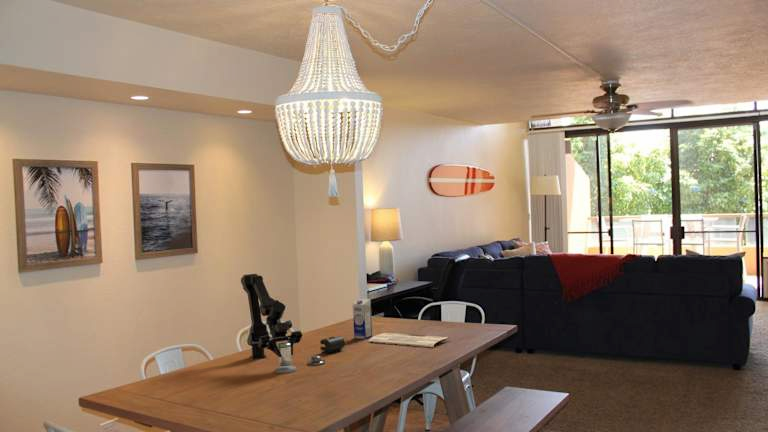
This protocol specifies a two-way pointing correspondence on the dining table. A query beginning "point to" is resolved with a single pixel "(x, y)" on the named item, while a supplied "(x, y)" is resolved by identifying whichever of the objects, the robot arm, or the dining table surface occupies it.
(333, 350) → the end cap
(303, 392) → the dining table surface
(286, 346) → the drinking glass
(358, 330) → the milk carton
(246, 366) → the dining table surface
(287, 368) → the coaster
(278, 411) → the dining table surface
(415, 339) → the newspaper
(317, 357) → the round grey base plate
